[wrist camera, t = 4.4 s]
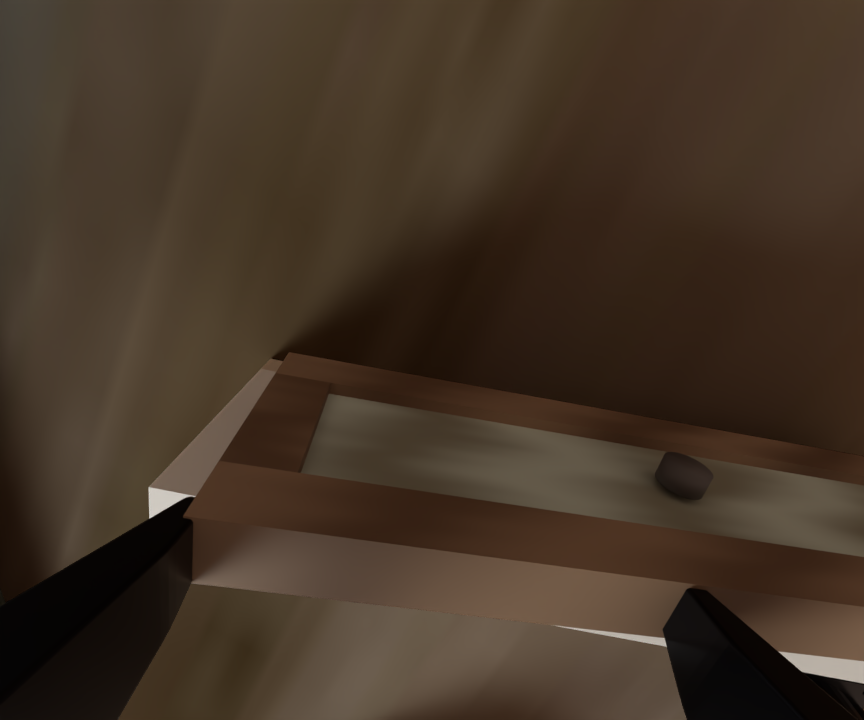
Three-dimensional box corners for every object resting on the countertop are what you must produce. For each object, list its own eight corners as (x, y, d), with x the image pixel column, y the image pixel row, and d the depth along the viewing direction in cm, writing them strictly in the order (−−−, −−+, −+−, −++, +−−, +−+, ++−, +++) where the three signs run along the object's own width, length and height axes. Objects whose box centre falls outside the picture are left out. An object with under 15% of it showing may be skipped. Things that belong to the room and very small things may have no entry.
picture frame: (910, 453, 16) (1234, 640, 10) (878, 495, 17) (1159, 695, 11) (290, 338, 14) (182, 494, 7) (284, 395, 14) (182, 581, 8)
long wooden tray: (874, 486, 20) (1133, 678, 12) (801, 586, 22) (982, 799, 14) (270, 358, 18) (148, 487, 11) (259, 479, 20) (153, 653, 13)
